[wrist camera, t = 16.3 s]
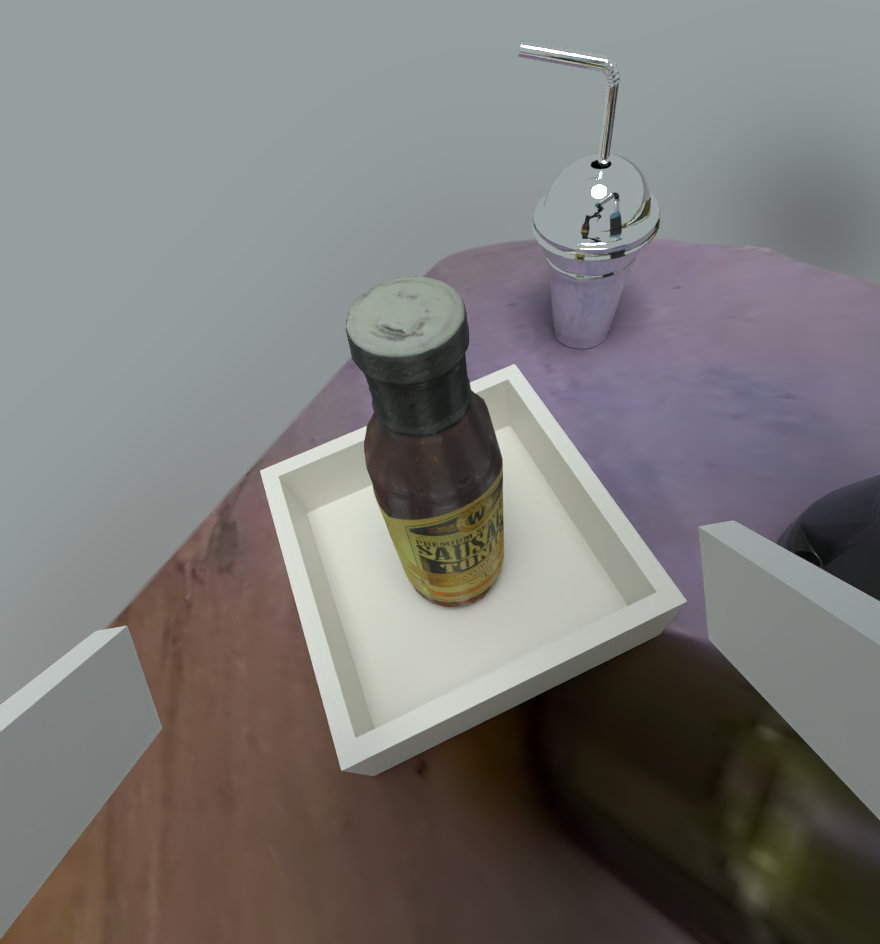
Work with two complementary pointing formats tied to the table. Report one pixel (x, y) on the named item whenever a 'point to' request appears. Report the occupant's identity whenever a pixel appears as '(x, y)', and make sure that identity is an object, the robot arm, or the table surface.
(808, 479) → the table surface
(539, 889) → the table surface
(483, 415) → the sauce bottle
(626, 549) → the box
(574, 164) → the cup with straw
